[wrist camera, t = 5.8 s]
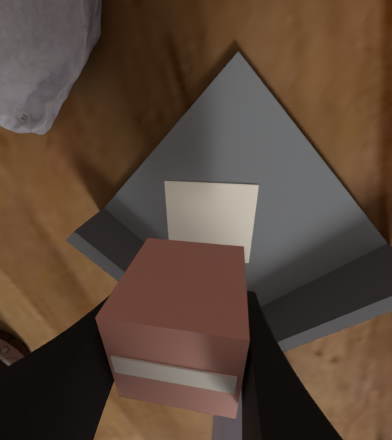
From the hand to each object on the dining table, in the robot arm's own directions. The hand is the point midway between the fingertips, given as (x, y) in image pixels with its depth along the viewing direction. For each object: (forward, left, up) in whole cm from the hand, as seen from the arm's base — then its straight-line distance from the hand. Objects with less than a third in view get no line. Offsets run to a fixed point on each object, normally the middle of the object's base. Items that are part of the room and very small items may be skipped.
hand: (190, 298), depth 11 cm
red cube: (0, 0, -1) cm, 1 cm away
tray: (-2, -1, -8) cm, 9 cm away
